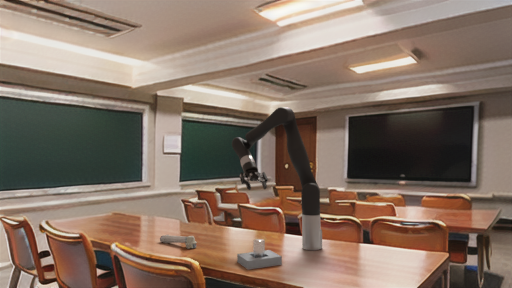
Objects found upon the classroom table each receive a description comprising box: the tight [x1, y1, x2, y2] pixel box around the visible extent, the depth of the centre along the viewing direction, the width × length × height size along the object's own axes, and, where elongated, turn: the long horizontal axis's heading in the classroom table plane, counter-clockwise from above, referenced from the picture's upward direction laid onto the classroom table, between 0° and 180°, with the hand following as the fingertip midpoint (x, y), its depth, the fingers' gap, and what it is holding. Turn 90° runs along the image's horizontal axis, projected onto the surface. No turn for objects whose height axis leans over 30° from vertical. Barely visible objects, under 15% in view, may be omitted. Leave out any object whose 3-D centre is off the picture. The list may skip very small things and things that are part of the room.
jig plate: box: [236, 249, 283, 270], centre depth 155 cm, size 16×12×4 cm
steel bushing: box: [252, 238, 266, 258], centre depth 155 cm, size 5×5×10 cm
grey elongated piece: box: [159, 234, 198, 249], centre depth 188 cm, size 5×7×25 cm
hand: (257, 188), depth 179 cm, fingers open, 8 cm apart
